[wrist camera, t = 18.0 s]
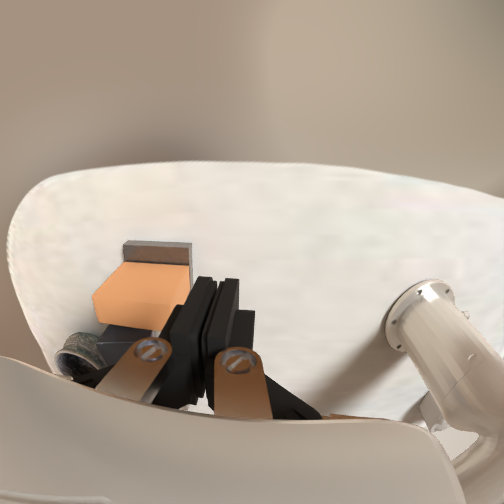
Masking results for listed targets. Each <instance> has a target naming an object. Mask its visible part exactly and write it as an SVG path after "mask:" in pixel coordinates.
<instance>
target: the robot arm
mask: <svg viewBox="0 0 504 504" xmlns="http://www.w3.org/2000/svg"><path fill="white" fill-rule="evenodd" d="M469 316H470V315H469V312H468V311H463V312H461V311H460V310H459V309H458V308H457V307H456V306H455V297H454V293H453V291H452V289H451V287H450V286H448V285H447V284H446V283H445V282H443V281H441V280H438V279H430V280H426V281H423V282H420V283H418V284H416V285H415V286H413V287H411V288H410V289H409V290H408V291H406V292H405V293H404V294H403V295H402V296H401V297H400V298H399V299H398V301H397V302H396V303H395V305H394V306H393V308H392V309H391V311H390V313H389V315H388V318H387V321H386V325H385V335H386V339H387V340H388V342H389V344H390V345H391V347H392V348H394V349H395V350H397V351H400V352H407V353H408V355H409V357H410V358H411V360H412V362H413V363H414V365H415V367H416V368H417V370H418V372H419V374H420V375H421V377H422V379H423V380H424V382H425V384H426V386H427V388H428V389H429V391H430V393H431V395H432V397H433V398H434V400H435V402H436V404H437V406H438V408H439V410H440V411H441V413H442V415H443V417H444V419H445V420H446V422H447V423H448V424H449V425H450V426H451V427H453V428H455V429H457V430H461V431H469V432H476V433H478V434H479V438H478V439H477V440H476V441H475V443H473V444H472V445H471V446H470V447H469V448H468V449H467V450H465V451H464V452H463V453H461V454H460V455H459V456H458V457H456V458H455V459H453V460H452V461H450V458H449V456H448V455H447V453H446V451H445V450H444V448H443V446H442V444H441V443H440V442H439V440H438V439H437V438H436V437H435V436H434V435H433V434H432V433H431V432H430V431H428V430H426V429H424V428H423V427H420V426H417V425H413V424H410V423H405V422H399V421H393V420H389V419H384V418H368V417H356V416H346V415H337V414H330V415H329V417H328V416H321V415H320V413H318V412H317V411H316V410H315V409H314V408H312V407H311V406H309V405H308V404H306V403H305V402H303V401H302V400H300V399H299V398H298V397H296V396H295V395H293V394H292V393H290V392H289V391H287V390H286V389H285V388H283V387H282V386H280V385H279V384H278V383H276V382H275V381H274V380H272V379H271V378H269V377H268V376H267V375H265V374H264V370H263V364H262V360H261V358H260V356H259V355H258V354H257V353H256V352H255V351H253V337H254V321H255V311H252V310H239V279H231V278H226V279H225V282H224V281H220V283H219V286H218V289H217V281H213V279H212V277H203V276H199V277H198V278H197V280H196V282H195V284H194V286H193V288H192V290H191V291H190V293H189V295H188V297H187V299H186V301H185V303H184V305H180V304H177V305H176V306H175V307H174V309H173V311H172V313H171V314H170V316H169V318H168V320H167V322H166V324H165V325H164V327H163V329H162V331H161V333H160V335H159V336H158V338H157V337H148V338H144V339H141V340H139V341H137V342H135V343H134V344H133V345H132V346H131V347H130V348H129V349H128V351H127V352H126V353H125V354H124V355H123V356H122V357H121V359H120V360H119V361H118V362H117V363H116V364H114V365H111V366H108V367H105V368H102V369H99V370H96V371H93V372H90V373H87V374H84V375H81V376H79V377H76V378H75V379H74V380H73V378H72V377H71V376H63V375H56V374H51V373H49V372H46V371H44V370H41V369H39V368H36V367H34V366H31V365H29V364H26V363H24V362H21V361H18V360H15V359H12V358H9V357H3V356H0V504H504V360H503V359H502V358H501V357H500V356H499V354H498V353H497V352H496V351H495V350H494V348H493V347H492V346H491V345H490V344H489V343H488V341H487V340H486V339H485V338H484V337H483V336H482V335H481V334H480V332H479V331H478V330H477V329H476V328H475V327H474V326H473V325H472V324H471V323H470V322H469V321H468V319H469ZM205 389H206V396H207V399H208V406H209V407H210V408H211V409H212V410H213V411H214V415H211V414H204V413H197V412H190V411H184V410H183V407H184V406H186V405H188V404H192V405H197V401H198V397H199V398H203V397H204V393H205Z"/></svg>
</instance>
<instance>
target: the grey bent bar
mask: <svg viewBox="0 0 504 504" xmlns="http://www.w3.org/2000/svg"><path fill="white" fill-rule="evenodd" d="M123 249H124V257H125V262H135V263H150V264H166V265H183V266H189V278H190V291H191V290H192V288H193V268H192V243H179V242H155V241H130V240H128V241H127V242H126V243H124V244H123ZM190 291H189V293H190ZM188 295H189V294H188ZM187 297H188V296H187ZM188 408H189V404H188V405H186V406H184V407H183V410H188Z"/></svg>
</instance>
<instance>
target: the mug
mask: <svg viewBox="0 0 504 504" xmlns="http://www.w3.org/2000/svg"><path fill="white" fill-rule="evenodd" d="M98 339H99V338H98V337H96V336H95V335H92V334H89V333H80V332H79V333H75V334H73V335H71V336H70V337H69V338H68V339H67V341H66V343H65V345H64V348H63V349H61V350H59V351H58V352H57V353H56V354H55V359H54V360H55V363H56V366H57V368H58V369H59V371H60V372H61V373H62V374H63V376H71V377H72V378H73V380H74V379H75V378H76V377H79V376H81V375H84V374H87V373H90V372H93V371H96V370H99V369H102V368H105V367H108V366H107V364H106V362H105V360H104V359H103V357H102V355H101V353H100V351H99V350H98V348H97V346H96V342H97V340H98Z"/></svg>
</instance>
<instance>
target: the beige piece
mask: <svg viewBox="0 0 504 504" xmlns="http://www.w3.org/2000/svg"><path fill="white" fill-rule="evenodd" d="M419 410H420V412H421V414H422V416H423V418H424V420H425V422H426V424H427V426H428V429H429V431H430V432H435V431H442V430H444V429H447V428H448V427H451V426H450V425H449V424H448V423H447V422H446V420H445V419H444V417H443V415H442V413H441V411H440V410H439V408H438V406H437V404H436V402H435V400H434V398H433V397H432V395H431V393H430V391H428V393H427V394H426V396H425V397H424V399H423V401H422V402H421V404H420V406H419Z"/></svg>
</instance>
